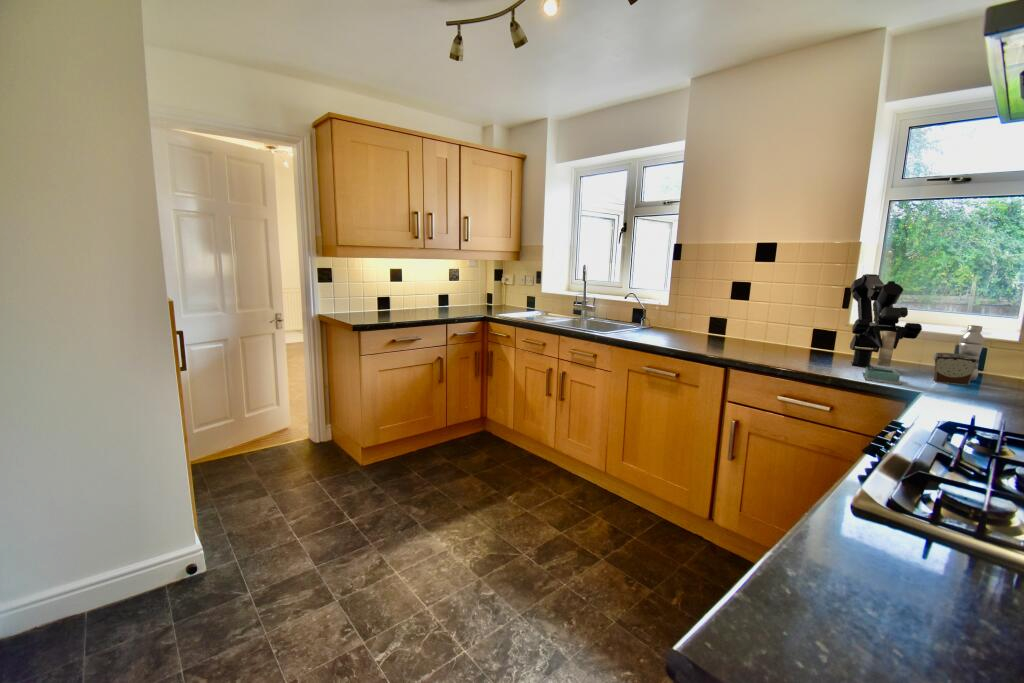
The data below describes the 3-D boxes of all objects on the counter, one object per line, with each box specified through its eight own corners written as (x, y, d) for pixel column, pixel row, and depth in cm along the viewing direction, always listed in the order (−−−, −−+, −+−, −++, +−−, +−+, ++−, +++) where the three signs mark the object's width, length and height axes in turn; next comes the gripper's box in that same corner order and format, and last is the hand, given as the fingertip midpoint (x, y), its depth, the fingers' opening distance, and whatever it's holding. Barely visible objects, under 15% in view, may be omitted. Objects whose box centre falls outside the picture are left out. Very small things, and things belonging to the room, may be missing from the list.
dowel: (874, 364, 165) (880, 330, 162) (883, 364, 165) (890, 331, 163) (883, 366, 161) (889, 332, 159) (892, 366, 161) (899, 332, 159)
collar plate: (862, 374, 171) (863, 366, 170) (896, 379, 165) (898, 370, 165) (864, 379, 162) (866, 370, 162) (901, 385, 157) (903, 375, 156)
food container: (963, 381, 166) (969, 354, 164) (973, 385, 160) (980, 357, 158) (921, 377, 170) (926, 351, 168) (930, 381, 164) (935, 354, 162)
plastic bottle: (981, 383, 164) (993, 327, 161) (959, 381, 166) (971, 326, 162) (967, 378, 171) (979, 325, 167) (946, 377, 172) (957, 324, 168)
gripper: (859, 296, 166) (863, 331, 158) (925, 300, 159) (932, 336, 151) (850, 316, 175) (853, 349, 167) (912, 320, 167) (918, 355, 159)
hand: (888, 347), depth 161 cm, fingers closed on dowel, 4 cm apart
